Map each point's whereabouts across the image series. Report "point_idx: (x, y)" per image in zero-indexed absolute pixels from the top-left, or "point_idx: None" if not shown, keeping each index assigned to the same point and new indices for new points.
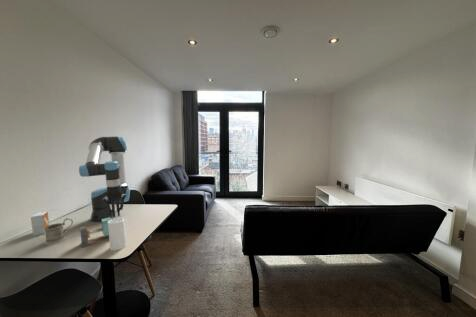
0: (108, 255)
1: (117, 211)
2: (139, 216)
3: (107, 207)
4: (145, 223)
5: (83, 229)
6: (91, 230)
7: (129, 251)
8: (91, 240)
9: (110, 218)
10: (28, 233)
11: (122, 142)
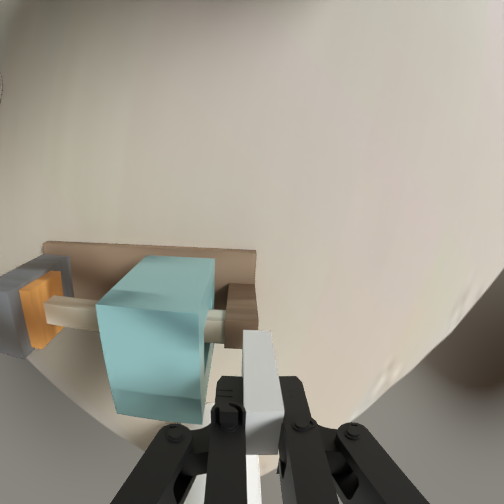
0: None
1: (279, 446)
2: (459, 55)
3: (128, 483)
4: (453, 227)
5: (6, 343)
6: (56, 305)
7: None
8: (87, 274)
9: (190, 366)
10: None
11: None
